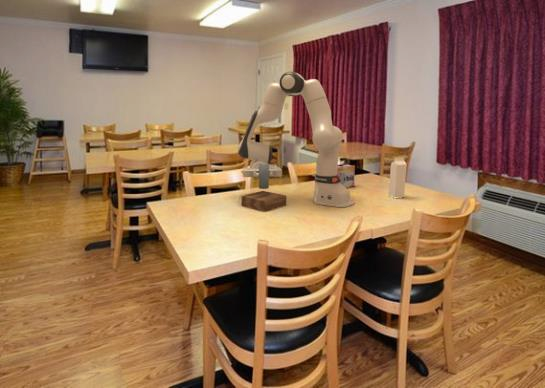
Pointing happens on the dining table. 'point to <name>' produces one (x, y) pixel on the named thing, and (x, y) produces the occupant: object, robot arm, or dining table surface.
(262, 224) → the dining table surface
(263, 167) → the grey rectangular block
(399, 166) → the milk
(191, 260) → the dining table surface
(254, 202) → the walnut base
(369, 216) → the dining table surface
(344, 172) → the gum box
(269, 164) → the robot arm
